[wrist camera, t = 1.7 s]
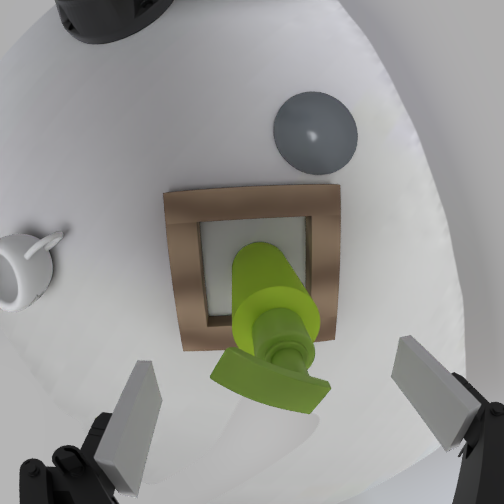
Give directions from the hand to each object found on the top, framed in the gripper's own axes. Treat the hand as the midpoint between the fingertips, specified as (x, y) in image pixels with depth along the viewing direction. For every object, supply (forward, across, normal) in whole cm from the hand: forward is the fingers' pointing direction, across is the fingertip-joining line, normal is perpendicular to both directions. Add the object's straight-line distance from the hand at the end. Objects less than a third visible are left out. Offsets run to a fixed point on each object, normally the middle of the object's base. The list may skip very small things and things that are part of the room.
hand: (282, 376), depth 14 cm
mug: (+18, -26, +4) cm, 32 cm away
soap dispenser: (+18, 0, 0) cm, 18 cm away
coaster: (+18, +7, +14) cm, 24 cm away
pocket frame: (+18, 0, 0) cm, 18 cm away
